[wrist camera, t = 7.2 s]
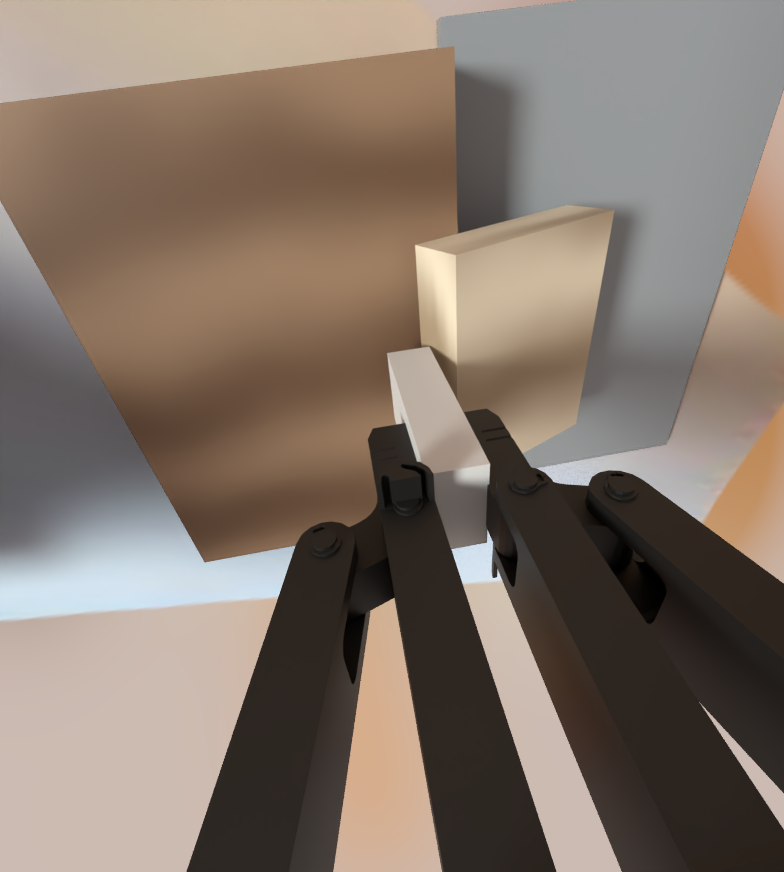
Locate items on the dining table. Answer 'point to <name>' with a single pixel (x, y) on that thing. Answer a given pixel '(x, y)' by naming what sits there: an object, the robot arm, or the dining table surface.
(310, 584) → the robot arm
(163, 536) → the dining table surface
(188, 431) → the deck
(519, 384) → the tile
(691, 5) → the mat
